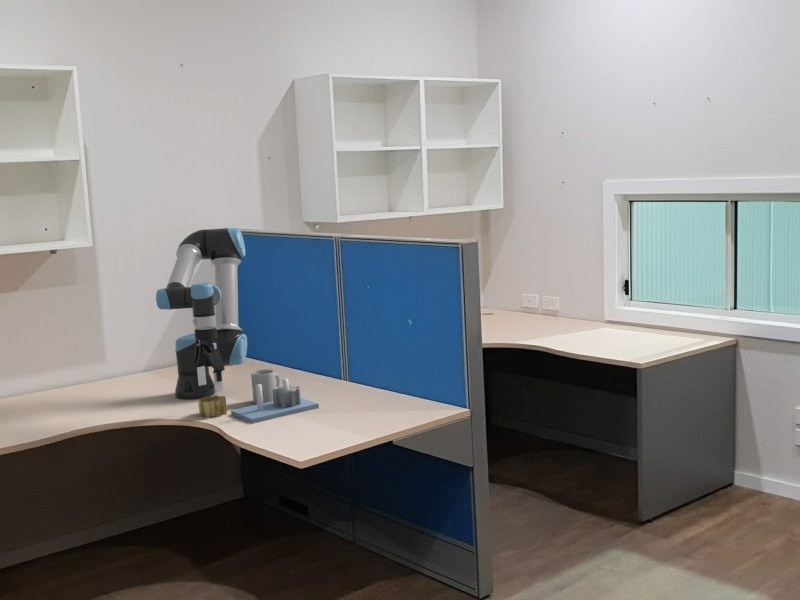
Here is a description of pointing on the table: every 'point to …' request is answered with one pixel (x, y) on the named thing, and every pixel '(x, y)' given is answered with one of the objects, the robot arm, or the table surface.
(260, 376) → the mug
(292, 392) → the gear board
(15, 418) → the table surface
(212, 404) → the brass gear
